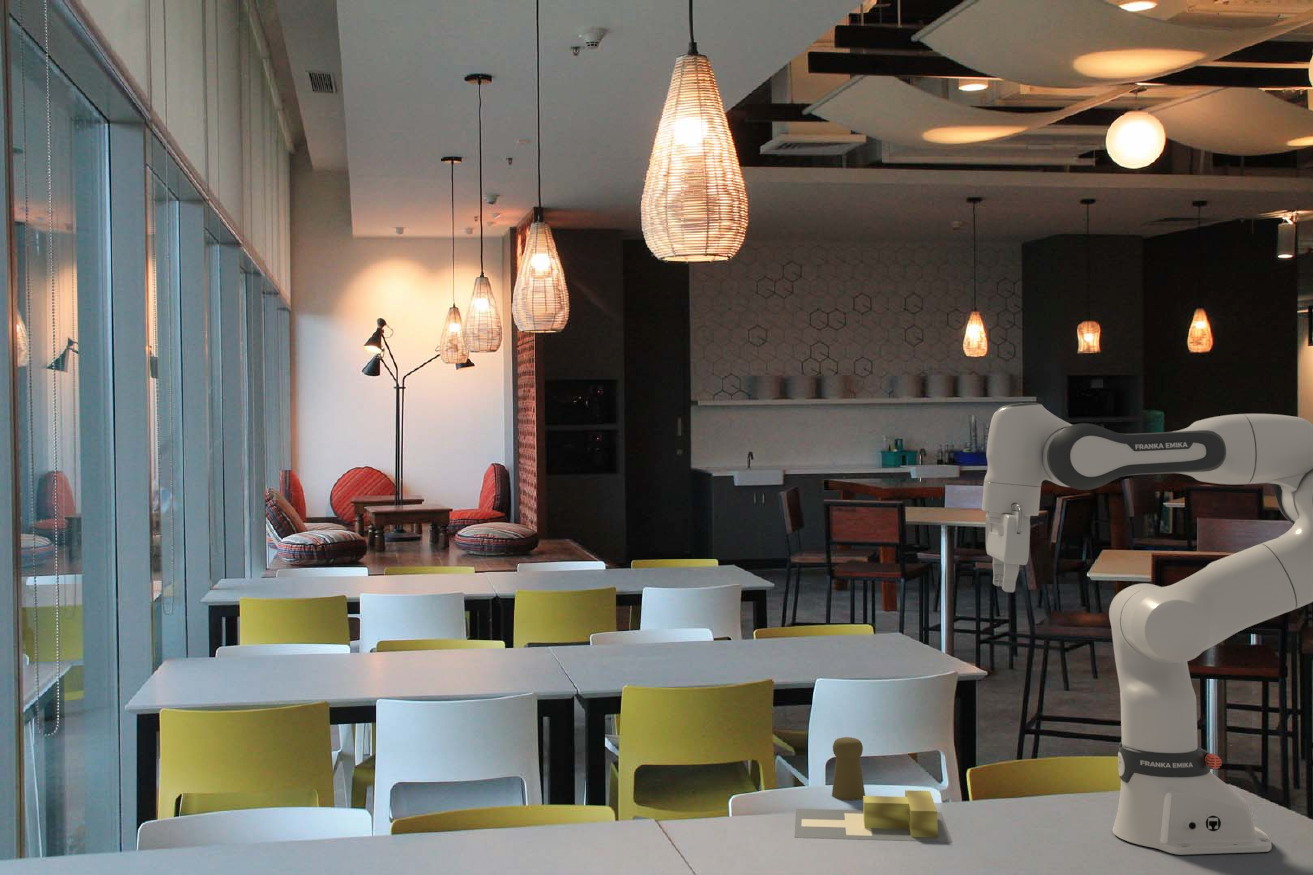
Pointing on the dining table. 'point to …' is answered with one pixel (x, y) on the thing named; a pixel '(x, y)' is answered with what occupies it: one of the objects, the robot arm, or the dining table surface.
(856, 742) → the cork
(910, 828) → the t block
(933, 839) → the board
